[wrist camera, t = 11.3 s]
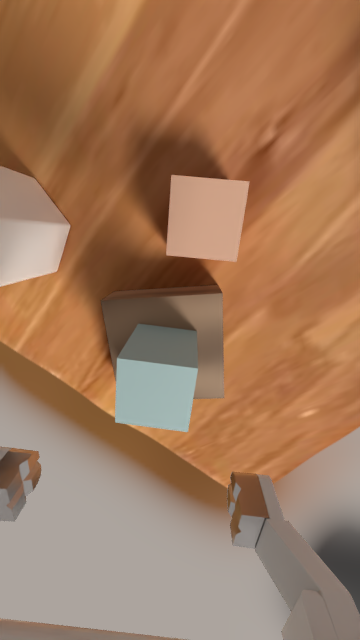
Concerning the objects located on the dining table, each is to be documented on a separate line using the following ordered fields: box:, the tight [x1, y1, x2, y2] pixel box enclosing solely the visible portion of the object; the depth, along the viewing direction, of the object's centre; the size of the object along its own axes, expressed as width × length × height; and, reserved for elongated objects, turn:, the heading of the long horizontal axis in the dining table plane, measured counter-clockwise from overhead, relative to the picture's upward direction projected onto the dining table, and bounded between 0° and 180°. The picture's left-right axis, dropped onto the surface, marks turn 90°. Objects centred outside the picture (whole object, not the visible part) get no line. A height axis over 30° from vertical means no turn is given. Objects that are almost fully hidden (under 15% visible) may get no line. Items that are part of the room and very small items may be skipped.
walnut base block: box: [101, 285, 224, 399], centre depth 23 cm, size 10×10×4 cm
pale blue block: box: [115, 324, 198, 432], centre depth 18 cm, size 5×5×6 cm
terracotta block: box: [166, 175, 249, 262], centre depth 18 cm, size 5×5×5 cm
